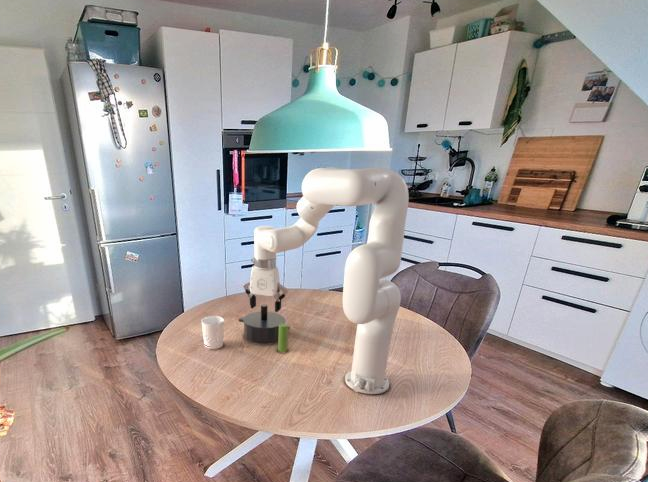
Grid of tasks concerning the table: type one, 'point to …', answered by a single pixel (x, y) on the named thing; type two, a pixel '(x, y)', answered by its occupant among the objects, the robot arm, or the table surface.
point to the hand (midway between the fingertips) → (265, 309)
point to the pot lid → (263, 319)
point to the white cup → (213, 331)
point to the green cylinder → (283, 337)
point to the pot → (261, 334)
